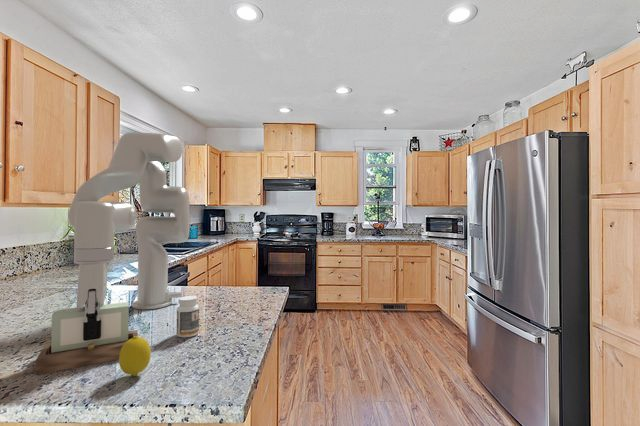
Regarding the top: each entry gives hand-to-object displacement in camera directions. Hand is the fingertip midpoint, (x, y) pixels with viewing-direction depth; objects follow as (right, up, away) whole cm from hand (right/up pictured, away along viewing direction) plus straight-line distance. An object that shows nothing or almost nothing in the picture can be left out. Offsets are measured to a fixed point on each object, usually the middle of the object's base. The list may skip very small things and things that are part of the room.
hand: (93, 334), depth 74 cm
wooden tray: (0, -5, 0) cm, 5 cm away
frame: (0, -2, 0) cm, 2 cm away
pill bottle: (+16, -5, +14) cm, 22 cm away
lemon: (+15, -5, -9) cm, 18 cm away
